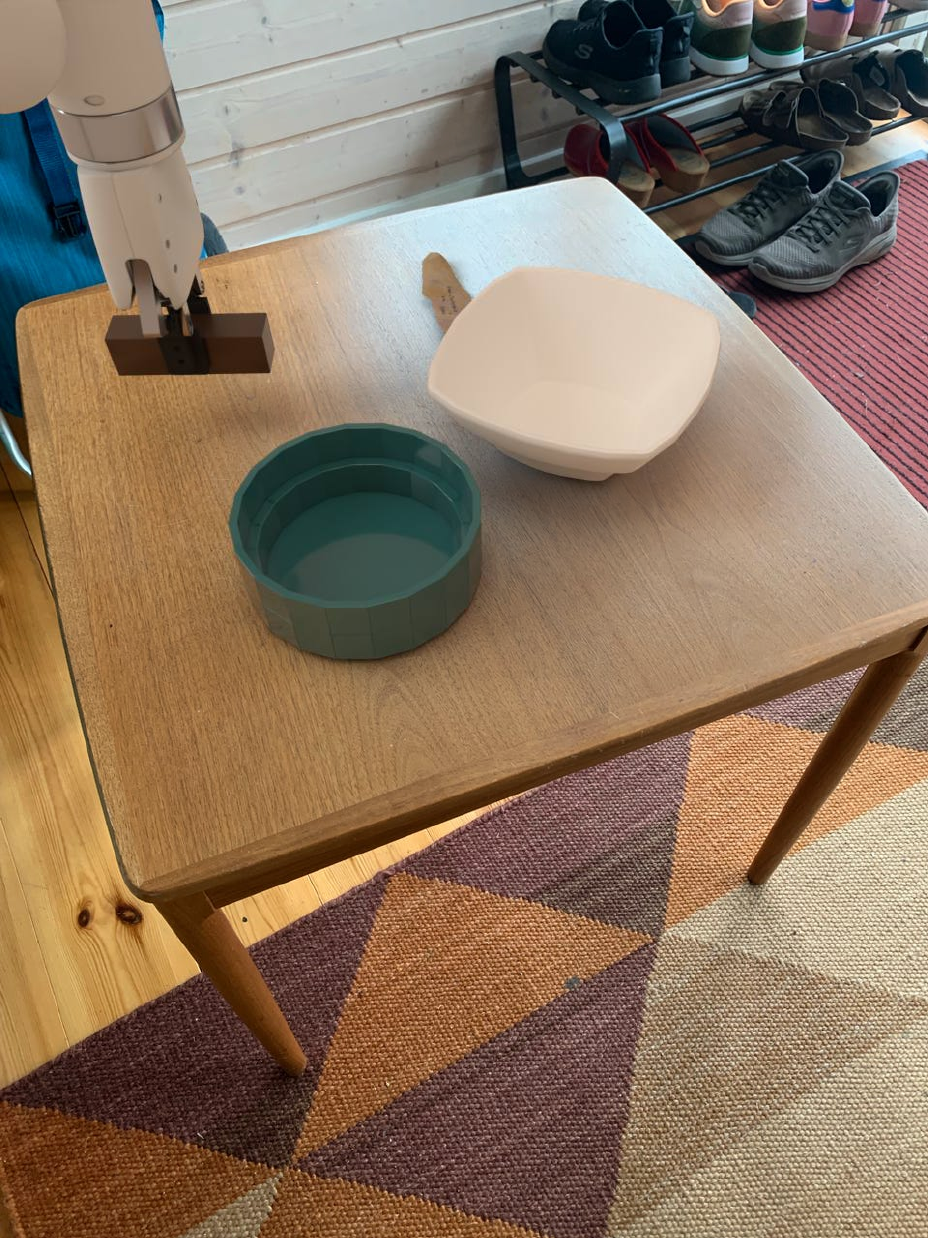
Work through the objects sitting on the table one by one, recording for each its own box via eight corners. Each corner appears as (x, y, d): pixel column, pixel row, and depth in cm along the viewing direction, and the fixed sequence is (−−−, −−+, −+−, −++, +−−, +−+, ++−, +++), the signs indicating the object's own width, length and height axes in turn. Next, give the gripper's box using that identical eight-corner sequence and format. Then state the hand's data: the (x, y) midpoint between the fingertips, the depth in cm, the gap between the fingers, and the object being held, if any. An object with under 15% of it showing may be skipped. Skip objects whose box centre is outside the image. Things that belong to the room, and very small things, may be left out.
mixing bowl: (232, 665, 64) (210, 608, 58) (265, 485, 74) (248, 423, 69) (482, 663, 63) (482, 606, 58) (480, 483, 74) (479, 421, 68)
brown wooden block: (118, 376, 72) (103, 339, 70) (126, 351, 74) (112, 314, 71) (270, 373, 72) (261, 336, 69) (275, 349, 74) (266, 312, 71)
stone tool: (403, 262, 91) (441, 353, 82) (407, 247, 90) (445, 338, 81) (452, 267, 93) (495, 356, 84) (456, 252, 92) (499, 341, 83)
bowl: (401, 480, 74) (392, 396, 67) (503, 333, 85) (506, 248, 78) (648, 562, 68) (667, 480, 62) (724, 394, 79) (747, 308, 73)
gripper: (91, 60, 63) (167, 295, 78) (23, 188, 53) (125, 429, 68) (201, 58, 63) (255, 294, 78) (152, 186, 53) (226, 427, 68)
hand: (194, 355), depth 73 cm, fingers closed on brown wooden block, 3 cm apart
